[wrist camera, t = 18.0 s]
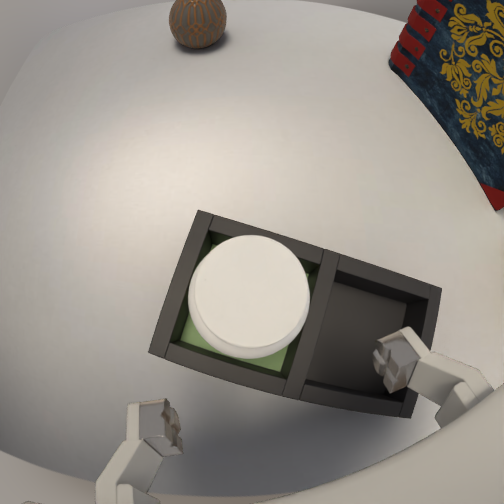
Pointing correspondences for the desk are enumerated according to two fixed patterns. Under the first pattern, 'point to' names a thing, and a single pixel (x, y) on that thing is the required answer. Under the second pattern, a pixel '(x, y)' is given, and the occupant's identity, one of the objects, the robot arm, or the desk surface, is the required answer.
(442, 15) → the book
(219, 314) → the pill bottle
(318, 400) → the holder
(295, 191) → the desk surface
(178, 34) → the vase
